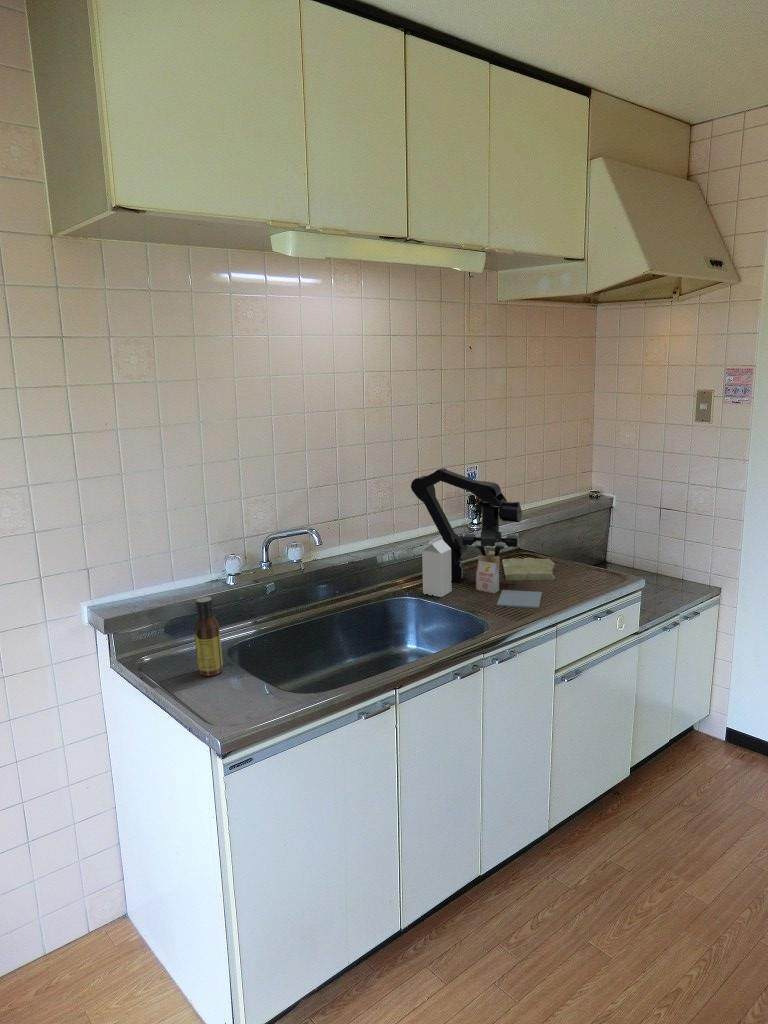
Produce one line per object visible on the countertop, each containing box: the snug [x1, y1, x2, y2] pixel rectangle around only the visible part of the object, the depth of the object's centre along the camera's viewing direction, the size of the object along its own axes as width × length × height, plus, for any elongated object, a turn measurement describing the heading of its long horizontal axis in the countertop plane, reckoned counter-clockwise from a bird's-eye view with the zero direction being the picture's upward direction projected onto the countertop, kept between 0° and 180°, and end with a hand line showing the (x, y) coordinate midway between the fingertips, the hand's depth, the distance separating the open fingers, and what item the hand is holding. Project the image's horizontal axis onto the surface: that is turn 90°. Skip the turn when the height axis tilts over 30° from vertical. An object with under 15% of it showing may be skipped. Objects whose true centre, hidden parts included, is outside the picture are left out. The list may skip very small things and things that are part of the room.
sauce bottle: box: [193, 596, 224, 677], centre depth 185 cm, size 7×6×20 cm
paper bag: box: [475, 561, 500, 594], centre depth 246 cm, size 4×7×10 cm, turn 53°
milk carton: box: [421, 535, 453, 598], centre depth 243 cm, size 7×7×19 cm
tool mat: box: [496, 589, 543, 610], centre depth 236 cm, size 13×15×1 cm
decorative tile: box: [501, 557, 556, 581], centre depth 266 cm, size 19×20×4 cm
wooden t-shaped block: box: [477, 550, 500, 572], centre depth 253 cm, size 7×11×5 cm, turn 164°
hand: (490, 564), depth 252 cm, fingers closed on wooden t-shaped block, 2 cm apart
